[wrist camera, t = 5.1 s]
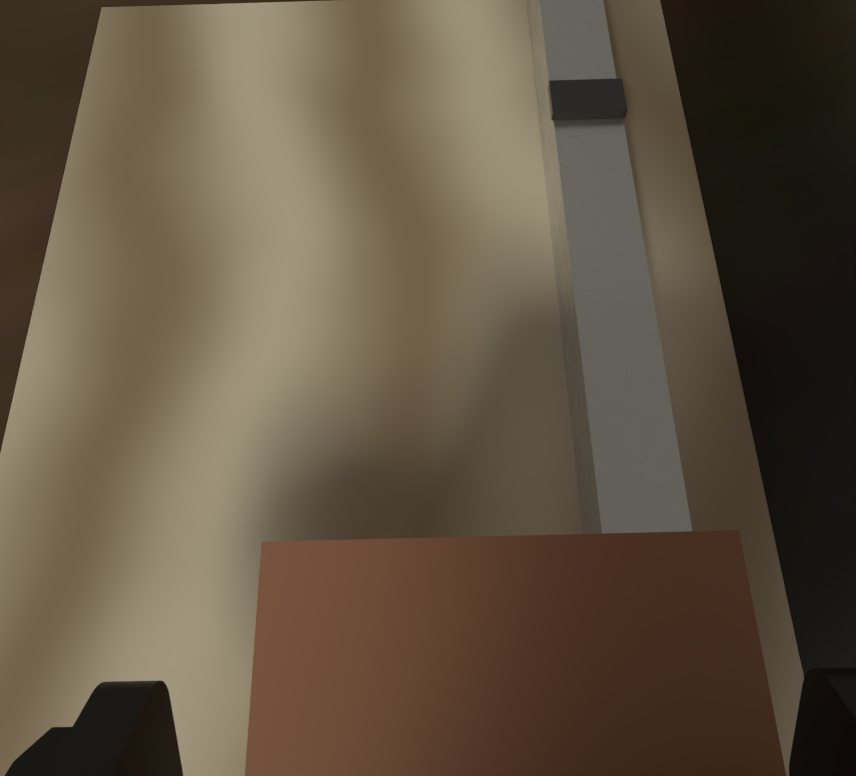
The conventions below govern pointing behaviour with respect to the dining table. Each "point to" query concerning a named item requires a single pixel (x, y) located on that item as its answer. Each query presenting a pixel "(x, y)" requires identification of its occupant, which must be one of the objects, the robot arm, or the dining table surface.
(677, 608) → the brown squarish block
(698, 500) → the board
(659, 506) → the rail
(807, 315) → the dining table surface
